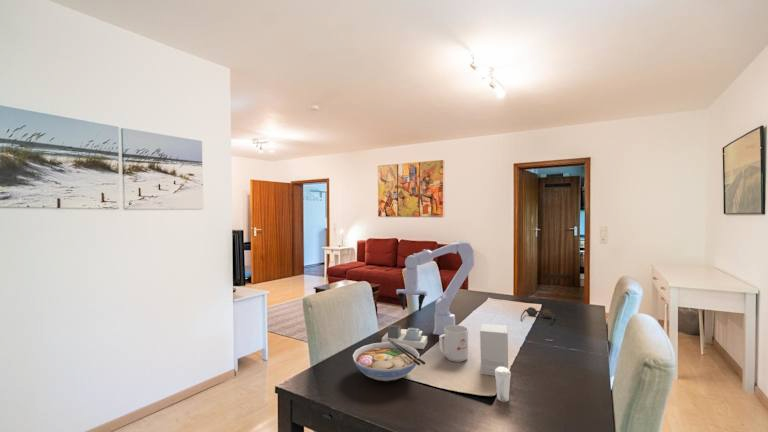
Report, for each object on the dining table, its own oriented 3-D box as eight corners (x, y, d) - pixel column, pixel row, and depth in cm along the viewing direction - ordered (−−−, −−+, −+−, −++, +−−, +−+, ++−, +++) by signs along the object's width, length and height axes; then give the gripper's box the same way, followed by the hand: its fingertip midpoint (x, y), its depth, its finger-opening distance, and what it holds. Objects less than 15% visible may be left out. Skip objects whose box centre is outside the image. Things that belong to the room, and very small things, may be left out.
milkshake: (489, 395, 104) (489, 362, 104) (506, 394, 104) (506, 361, 104) (495, 403, 99) (495, 369, 99) (513, 402, 100) (513, 368, 100)
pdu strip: (427, 342, 148) (427, 326, 148) (423, 349, 140) (423, 332, 140) (387, 337, 153) (387, 322, 153) (381, 344, 146) (381, 328, 146)
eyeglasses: (554, 319, 180) (554, 309, 180) (551, 327, 167) (551, 317, 167) (524, 315, 188) (524, 306, 188) (519, 322, 175) (519, 312, 175)
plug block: (419, 342, 148) (418, 327, 148) (417, 346, 143) (416, 331, 143) (408, 341, 149) (408, 327, 149) (406, 345, 145) (406, 330, 145)
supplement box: (508, 367, 123) (507, 325, 123) (508, 378, 115) (508, 333, 115) (481, 363, 126) (481, 322, 126) (480, 374, 118) (479, 330, 118)
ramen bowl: (343, 367, 124) (342, 344, 124) (400, 356, 133) (400, 335, 133) (367, 402, 101) (367, 374, 101) (434, 385, 110) (434, 360, 110)
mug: (457, 351, 138) (457, 323, 137) (473, 359, 130) (472, 330, 130) (433, 357, 132) (432, 328, 132) (447, 366, 124) (447, 335, 124)
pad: (422, 332, 161) (422, 330, 161) (417, 339, 151) (417, 338, 151) (401, 329, 164) (401, 328, 164) (396, 337, 154) (396, 336, 154)
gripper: (394, 281, 161) (394, 311, 161) (425, 283, 156) (425, 313, 156) (398, 279, 167) (398, 307, 167) (428, 280, 163) (428, 309, 163)
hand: (411, 309), depth 162 cm, fingers open, 7 cm apart
